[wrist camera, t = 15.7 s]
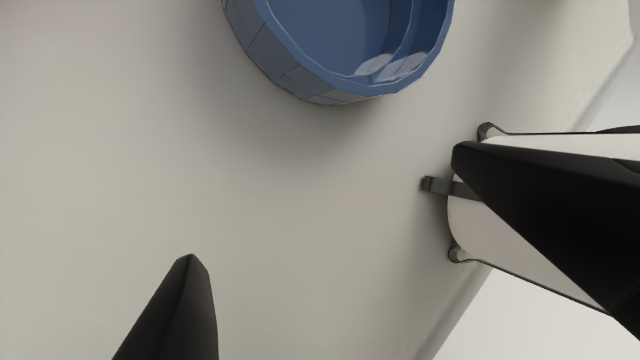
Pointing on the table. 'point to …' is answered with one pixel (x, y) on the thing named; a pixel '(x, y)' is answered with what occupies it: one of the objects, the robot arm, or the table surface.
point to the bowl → (341, 43)
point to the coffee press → (497, 236)
